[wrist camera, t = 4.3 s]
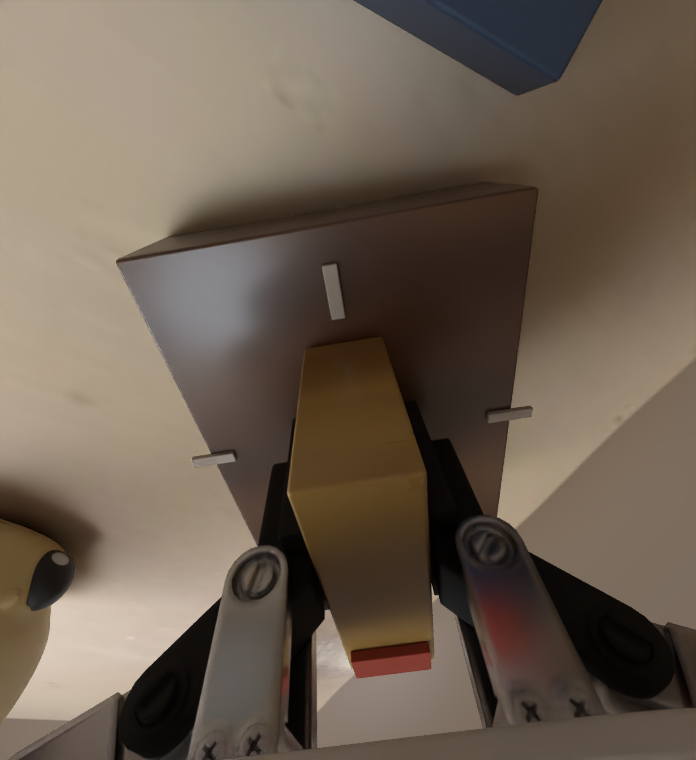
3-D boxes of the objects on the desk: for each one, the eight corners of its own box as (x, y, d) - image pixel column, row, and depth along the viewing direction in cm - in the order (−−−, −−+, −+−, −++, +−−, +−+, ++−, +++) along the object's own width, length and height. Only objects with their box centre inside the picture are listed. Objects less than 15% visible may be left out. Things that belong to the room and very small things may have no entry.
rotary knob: (303, 347, 10) (283, 507, 5) (382, 335, 9) (432, 485, 5) (343, 508, 13) (351, 682, 9) (400, 500, 13) (437, 671, 9)
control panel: (145, 241, 11) (84, 266, 8) (507, 177, 10) (571, 181, 8) (262, 508, 18) (251, 570, 15) (482, 476, 17) (511, 533, 14)
